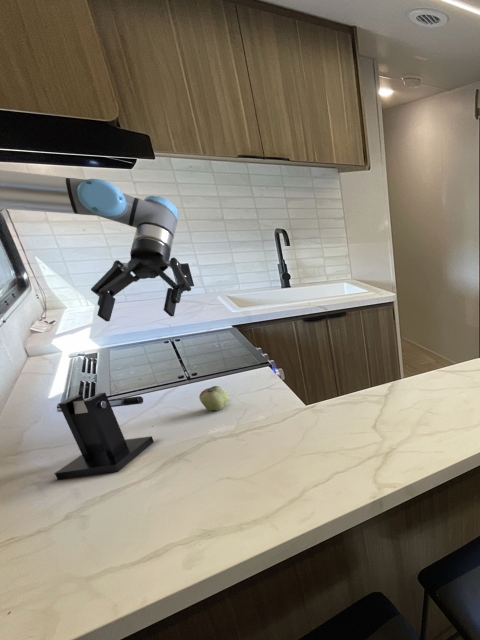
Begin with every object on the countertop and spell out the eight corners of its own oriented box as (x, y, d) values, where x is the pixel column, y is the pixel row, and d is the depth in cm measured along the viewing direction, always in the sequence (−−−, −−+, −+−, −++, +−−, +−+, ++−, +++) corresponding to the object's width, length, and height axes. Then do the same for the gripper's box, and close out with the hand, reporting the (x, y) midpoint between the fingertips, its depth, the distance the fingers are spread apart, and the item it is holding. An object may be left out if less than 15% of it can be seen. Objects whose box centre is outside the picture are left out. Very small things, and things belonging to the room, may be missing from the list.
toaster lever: (110, 408, 88) (108, 398, 88) (144, 404, 90) (142, 394, 89) (61, 415, 76) (59, 403, 76) (100, 411, 78) (98, 398, 77)
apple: (230, 400, 110) (224, 380, 108) (231, 409, 104) (224, 388, 102) (204, 405, 107) (197, 385, 105) (203, 416, 101) (196, 394, 99)
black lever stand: (102, 448, 87) (76, 390, 82) (154, 442, 89) (131, 384, 84) (57, 480, 76) (24, 414, 71) (118, 471, 78) (90, 406, 73)
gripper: (212, 255, 110) (203, 319, 101) (107, 260, 105) (88, 328, 96) (197, 234, 103) (186, 302, 94) (84, 239, 98) (61, 310, 90)
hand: (136, 315), depth 95 cm, fingers open, 13 cm apart
